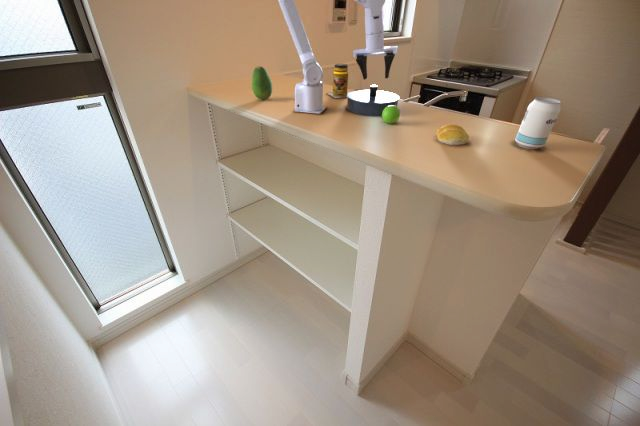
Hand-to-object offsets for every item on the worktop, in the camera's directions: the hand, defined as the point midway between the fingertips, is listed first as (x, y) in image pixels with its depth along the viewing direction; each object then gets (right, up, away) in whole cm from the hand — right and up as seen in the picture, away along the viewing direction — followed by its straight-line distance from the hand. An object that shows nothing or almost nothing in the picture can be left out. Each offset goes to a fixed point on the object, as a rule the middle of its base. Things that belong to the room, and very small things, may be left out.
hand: (375, 78), depth 103 cm
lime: (+3, -15, -9) cm, 18 cm away
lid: (0, -5, +4) cm, 7 cm away
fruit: (-42, -2, +16) cm, 45 cm away
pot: (0, -8, +7) cm, 11 cm away
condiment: (-11, +3, +23) cm, 26 cm away
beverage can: (+37, -29, -22) cm, 52 cm away
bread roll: (+18, -26, -19) cm, 37 cm away
